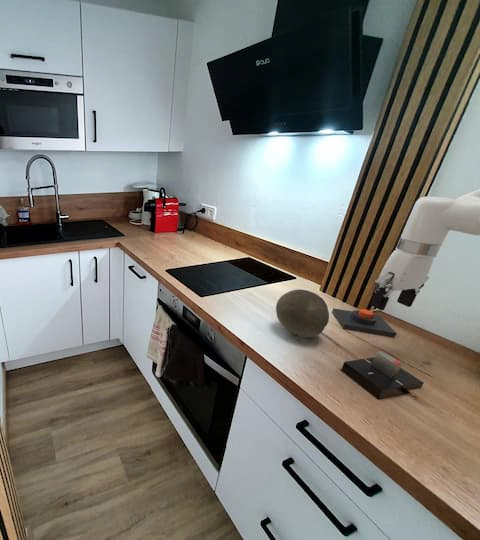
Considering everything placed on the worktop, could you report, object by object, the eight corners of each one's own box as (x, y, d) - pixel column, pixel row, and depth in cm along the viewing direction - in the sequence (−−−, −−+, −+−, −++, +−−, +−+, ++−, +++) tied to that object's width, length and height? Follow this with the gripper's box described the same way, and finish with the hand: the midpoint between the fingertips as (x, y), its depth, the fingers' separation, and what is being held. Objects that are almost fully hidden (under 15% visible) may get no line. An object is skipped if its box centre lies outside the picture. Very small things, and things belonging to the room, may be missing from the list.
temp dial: (370, 365, 76) (377, 350, 74) (375, 364, 76) (382, 350, 74) (390, 379, 71) (398, 364, 69) (395, 378, 71) (403, 363, 70)
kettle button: (368, 314, 97) (370, 310, 96) (373, 319, 93) (375, 315, 93) (355, 312, 98) (357, 308, 97) (360, 317, 94) (362, 313, 94)
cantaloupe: (303, 321, 100) (316, 283, 94) (330, 347, 87) (347, 305, 81) (263, 320, 100) (274, 282, 94) (284, 346, 87) (298, 303, 81)
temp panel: (378, 364, 80) (382, 355, 79) (418, 391, 72) (424, 382, 70) (340, 370, 78) (344, 361, 77) (377, 399, 69) (383, 389, 68)
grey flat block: (376, 323, 100) (381, 311, 98) (392, 341, 91) (399, 328, 89) (330, 315, 104) (334, 303, 102) (341, 332, 94) (346, 319, 92)
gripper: (424, 241, 77) (398, 296, 84) (375, 244, 73) (352, 302, 80) (460, 250, 70) (429, 310, 77) (409, 254, 66) (380, 316, 73)
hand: (390, 306), depth 79 cm, fingers open, 9 cm apart
